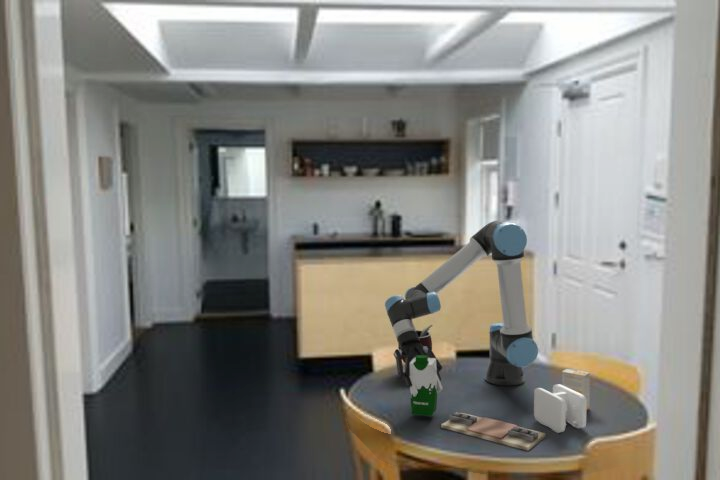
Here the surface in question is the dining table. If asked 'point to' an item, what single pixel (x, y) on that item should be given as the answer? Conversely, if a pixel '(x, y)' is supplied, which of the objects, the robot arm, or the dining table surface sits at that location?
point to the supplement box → (577, 382)
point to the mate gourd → (421, 340)
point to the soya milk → (424, 385)
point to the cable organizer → (560, 408)
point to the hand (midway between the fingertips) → (428, 392)
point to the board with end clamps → (493, 430)
